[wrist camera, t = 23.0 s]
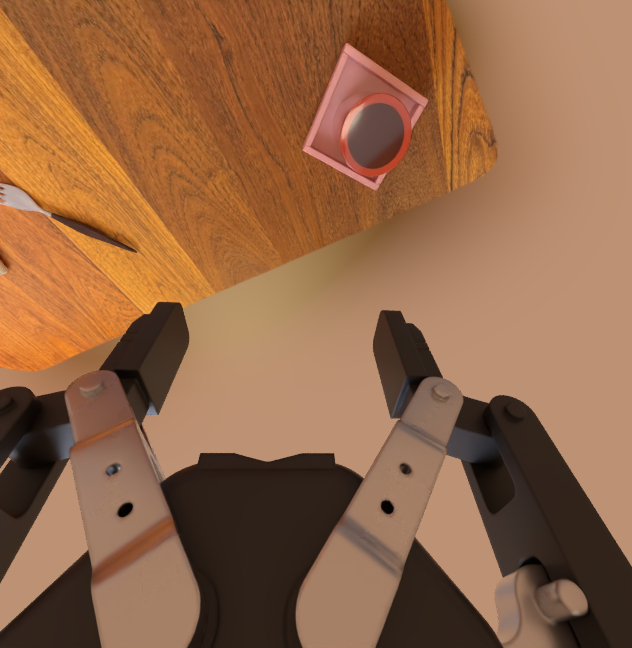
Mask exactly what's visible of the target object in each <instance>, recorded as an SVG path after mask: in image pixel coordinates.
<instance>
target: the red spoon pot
mask: <svg viewBox="0 0 632 648" xmlns="http://www.w3.org/2000/svg"><path fill="white" fill-rule="evenodd" d="M332 129H333V136H334V140H335V142H336V144H337V146H338V148H339V150H340V152H341V154H342V156H343V157H344V159H345V161H346V163H347V164H348V165H349V167H350V168H351V169H353V170H354V171H355V172H357V173H359V174H361V175H364V176H379V175H382V174H385V173H387V172H388V171H390V170H392V169H393V168H394V167H395V166H396V165H397V164H398V163H399V162H400V161H401V160H402V158H403V157H404V155H405V153H406V151H407V149H408V147H409V144H410V140H411V132H412V126H411V119H410V116H409V113H408V111H407V109H406V107H405V106H404V104H403V103H402V102H401V101H400V100H399V99H398V98H396V97H395V96H393V95H390V94H387V93H380V92H373V91H357V92H354V93H352V94H350V95H349V96H347V97H346V98H345V99H344V100H343V101H342V102H341V103H340V105H339V106H338V108H337V110H336V112H335V115H334V119H333V128H332Z"/></svg>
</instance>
